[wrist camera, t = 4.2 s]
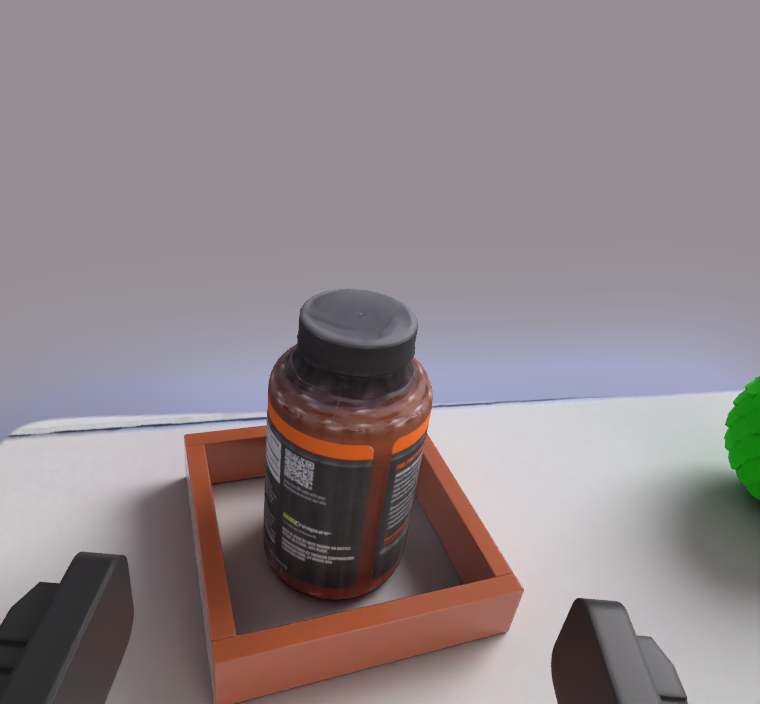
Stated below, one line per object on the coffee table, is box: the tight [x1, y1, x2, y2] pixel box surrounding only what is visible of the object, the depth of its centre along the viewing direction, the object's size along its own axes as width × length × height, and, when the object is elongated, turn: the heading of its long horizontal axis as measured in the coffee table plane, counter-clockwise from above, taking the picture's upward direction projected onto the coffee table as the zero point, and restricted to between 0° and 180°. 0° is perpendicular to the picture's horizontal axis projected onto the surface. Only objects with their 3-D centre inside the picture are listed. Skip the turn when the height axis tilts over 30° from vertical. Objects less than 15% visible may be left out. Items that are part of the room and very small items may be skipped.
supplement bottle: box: [264, 289, 432, 600], centre depth 23 cm, size 6×6×11 cm
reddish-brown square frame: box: [184, 425, 524, 704], centre depth 26 cm, size 11×11×2 cm
